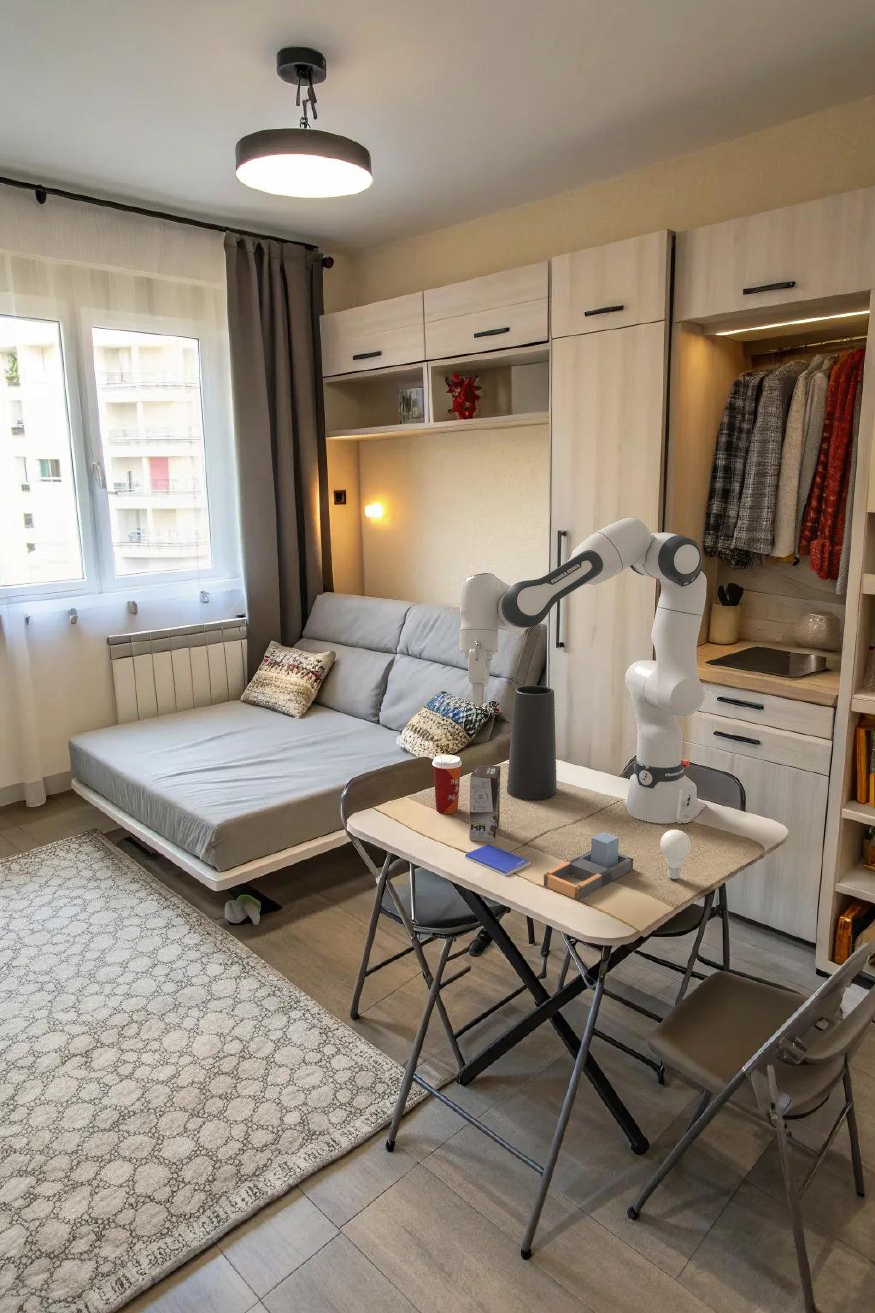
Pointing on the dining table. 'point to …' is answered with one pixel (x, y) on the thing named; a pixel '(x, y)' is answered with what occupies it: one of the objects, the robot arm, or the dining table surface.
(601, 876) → the grey orange rectangular frame
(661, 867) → the dining table surface
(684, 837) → the lightbulb
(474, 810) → the coffee box
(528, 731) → the vase
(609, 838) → the plug
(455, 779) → the paper cup
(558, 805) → the dining table surface
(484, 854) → the hard drive
